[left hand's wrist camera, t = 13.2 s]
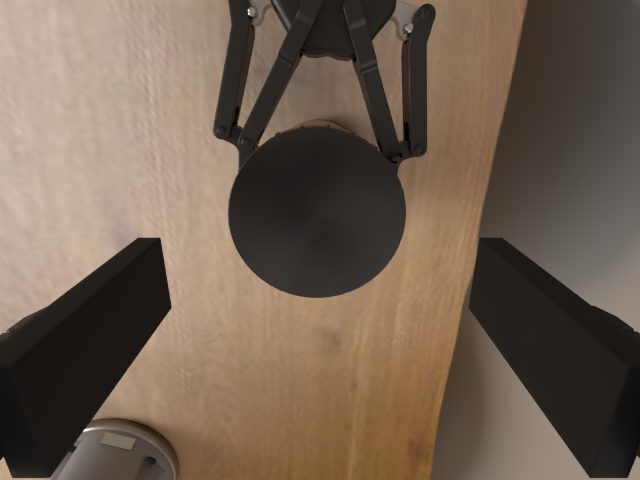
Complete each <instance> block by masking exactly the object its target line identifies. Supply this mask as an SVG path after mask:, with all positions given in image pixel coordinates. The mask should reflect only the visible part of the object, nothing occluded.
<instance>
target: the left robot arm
mask: <svg viewBox="0 0 640 480" xmlns="http://www.w3.org/2000/svg"><path fill="white" fill-rule="evenodd" d="M171 308H172V307H171V301H170V295H169V289H168V282H167V276H166V270H165V264H164V258H163V251H162V245H161V239H160V238H137V239H136V240H134V241H133V242H132V243H131V244H129V245H128V246H127V247H125V248H124V249H123V250H121V251H120V252H119V253H117V254H116V255H115V256H113V257H112V258H111V259H109V260H108V261H107V262H106V263H104V264H103V265H102V266H100V267H99V268H98V269H96V270H95V271H94V272H92V273H91V274H90V275H88V276H87V277H86V278H84V279H83V280H82V281H81V282H79V283H78V284H77V285H75V286H74V287H73V288H71V289H70V290H69V291H67V292H66V293H65V294H63V295H62V296H61V297H59V298H58V299H57V300H56V301H54V302H53V303H52V304H50V305H49V306H48V307H46V308H44V309H41V310H39V311H37V312H35V313H33V314H31V315H29V316H27V317H25V318H23V319H22V320H20V321H19V322H18V323H16V324H15V325H14V326H12V327H11V328H10V329H8V330H7V333H3V334H1V335H0V460H1V459H2V458H3V457H4V458H5V461H6V463H7V466H8V468H9V471H10V473H11V476H12V478H46V479H45V480H177V478H178V475H179V463H178V459H177V456H176V454H175V452H174V451H173V449H172V447H171V446H170V445H169V444H168V443H167V442H166V441H165V440H164V439H163V438H162V437H161V436H160V435H158V434H157V433H155V432H154V431H152V430H150V429H148V428H146V427H144V426H142V425H139V424H136V423H133V422H129V421H125V420H118V419H102V420H95V421H91V420H92V418H93V417H94V416H95V414H96V413H97V411H98V410H99V409H100V407H101V406H102V404H103V403H104V402H105V400H106V399H107V397H108V396H109V395H110V393H111V392H112V390H113V389H114V388H115V386H116V385H117V383H118V382H119V381H120V379H121V378H122V376H123V375H124V374H125V372H126V371H127V369H128V368H129V367H130V365H131V364H132V362H133V361H134V360H135V358H136V357H137V355H138V354H139V353H140V351H141V350H142V348H143V347H144V346H145V344H146V343H147V341H148V340H149V339H150V337H151V336H152V334H153V333H154V332H155V330H156V329H157V327H158V326H159V325H160V323H161V322H162V320H163V319H164V318H165V316H166V315H167V313H168V312H169V311H170V309H171ZM469 309H470V310H471V312H472V313H473V315H474V316H475V318H476V319H477V320H478V322H479V323H480V325H481V326H482V327H483V329H484V330H485V332H486V333H487V334H488V336H489V337H490V339H491V340H492V341H493V343H494V344H495V346H496V347H497V348H498V350H499V351H500V352H501V354H502V355H503V357H504V358H505V360H506V361H507V362H508V364H509V365H510V367H511V368H512V369H513V371H514V372H515V374H516V375H517V376H518V378H519V379H520V380H521V382H522V383H523V385H524V386H525V388H526V389H527V390H528V392H529V393H530V394H531V396H532V397H533V399H534V400H535V402H536V403H537V404H538V406H539V407H540V409H541V410H542V411H543V413H544V414H545V416H546V417H547V418H548V420H549V421H550V423H551V424H552V425H553V427H554V428H555V430H556V431H557V432H558V434H559V435H560V437H561V438H562V439H563V441H564V442H565V444H566V445H567V446H568V448H569V449H570V451H571V452H572V453H573V455H574V456H575V458H576V459H577V460H578V462H579V463H580V465H581V466H582V467H583V469H584V470H585V472H586V473H587V474H588V476H589V477H590V478H628V476H629V473H630V471H631V468H632V466H633V463H634V461H635V458H636V456H638V457H639V458H640V333H638V332H634V329H633V328H632V327H630V326H629V325H627V324H626V323H625V322H623V321H622V320H621V319H619V318H618V317H617V316H614V315H612V314H610V313H608V312H606V311H604V310H602V309H600V308H598V307H595V306H591V305H590V304H588V303H587V302H586V301H584V300H583V299H582V298H581V297H579V296H578V295H577V294H575V293H574V292H573V291H571V290H570V289H569V288H567V287H566V286H565V285H563V284H562V283H561V282H559V281H558V280H557V279H556V278H554V277H553V276H552V275H550V274H549V273H548V272H546V271H545V270H544V269H542V268H541V267H540V266H538V265H537V264H536V263H534V262H533V261H532V260H530V259H529V258H528V257H527V256H525V255H524V254H523V253H521V252H520V251H519V250H517V249H516V248H515V247H513V246H512V245H511V244H509V243H508V242H507V241H506V240H504V239H503V238H480V239H479V245H478V251H477V258H476V264H475V270H474V276H473V282H472V289H471V295H470V301H469ZM90 421H91V422H90Z"/></svg>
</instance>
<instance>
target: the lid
mask: <svg viewBox="0 0 640 480" xmlns="http://www.w3.org/2000/svg"><path fill="white" fill-rule="evenodd" d="M377 149H378V148H377V147H376V146H375V145H374V144H372V145H371V144H370V143H369V142H367V141H366V140H365V139H363V138H361V137H360V136H358V135H357V134H356V133H355V132H354V131H352V130H351V132H350V131H348V130H345V129H342V128H339V127H335V126H330V125H329V124H327V125H305V126H304V124H301V126H299V127H295V128H291V129H289V130H286V131H284V132H281V133H280V132H278V133H276V134H275V136H274V137H272V138H270V139H269V140H268V141H267V142H265V143H264V144H263V145H261V146H260V147H259V146H258V147H257V148H255V149H254V150H253V151H254V152H253V153H252V154H251V155H250V156H249V157H248V159H247V160H246V161H245V163H244V164H243V165H242V167H241V168H240V169H239V170H238V174H237V176H236V178H235V180H234V183H233V185H232V188H231V192H230V196H229V202H228V223H229V228H230V233H231V236H232V239H233V242H234V245H235V247H236V249H237V251H238V253H239V254H240V256H241V257H242V259H243V260H244V262H245V263H246V264H247V266H248V267H249V268H250V269H251V270H252V271H253V272H254V273H255V274H256V275H257V276H258V277H259V278H261V279H262V280H263V281H265V282H266V283H268V284H269V285H271V286H273V287H275V288H277V289H279V290H281V291H284V292H286V293H289V294H293V295H297V296H302V297H310V298H323V297H332V296H337V295H342V294H345V293H347V292H350V291H353V290H355V289H357V288H359V287H361V286H363V285H364V284H366V283H368V282H369V281H371V280H372V279H373V278H374V277H376V276H377V275H378V274H379V273H380V272H381V271H382V270H383V269H384V268H385V267H386V266H387V264H388V263H389V262H390V260H391V259H392V258H393V256H394V254H395V252H396V250H397V249H398V246H399V244H400V241H401V239H402V236H403V232H404V228H405V219H406V204H405V198H404V193H403V192H404V191H403V189H402V186H401V183H400V181H399V179H398V176H397V174H396V172H395V171H394V167H393V166H392V165H391V164H390V163H389V162H388V160H387V159H386V158H385V157H384V156H383V155H382V154H381V153H380V152H379V151H378V150H377Z"/></svg>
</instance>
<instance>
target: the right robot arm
mask: <svg viewBox="0 0 640 480" xmlns="http://www.w3.org/2000/svg"><path fill="white" fill-rule="evenodd" d="M228 1H229V8H230V15H231V23H232V26H231V31H230V37H229V43H228V48H227V54H226V59H225V65H224V70H223V76H222V81H221V87H220V93H219V98H218V104H217V109H216V115H215V120H214V126H213V133H214V135H215V136H216V137H217V138H218V139H223V140H225V141H228V142H230V143H232V144H234V145H235V146H236V147H237V149H238V152H239V169H240V168H241V167H242V165H243V164H244V163H245V161H246V160H247V159H248V157H249V156H250V155H251V154H252V153H253V152H254V151H253V150H254V149H255V148H257V147H258V144H259V141H260V139H261V137H262V135H263V133H264V131H265V129H266V127H267V125H268V123H269V121H270V119H271V117H272V115H273V113H274V111H275V109H276V107H277V105H278V103H279V101H280V99H281V97H282V95H283V93H284V91H285V89H286V87H287V85H288V83H289V81H290V79H291V77H292V75H293V73H294V71H295V69H296V67H297V66H298V64H299V62H300V60H301V58H302V56H303V54H304V55H306V57H311V58H319V57H325V56H329V57H332V58H334V59H337V60H342V61H349V60H351V59H352V62H353V65H354V68H355V71H356V74H357V76H358V79H359V83H360V86H361V89H362V93H363V96H364V100H365V103H366V106H367V110H368V113H369V116H370V120H371V123H372V127H373V130H374V133H375V137H376V140H377V143H378V147H379V150H380V153H381V154H382V155H383V156H384V157H385V158H386V159H387V160H388V162H389V163H390V164H391V165H392V166H393V167H394V171H395V172H396V174H397V171H398V166H399V164H400V163H401V162H402V161H403V160H405V159H408V158H412V157H420V156H423V155H424V154H425V152H426V150H427V41H428V38H429V35H430V31H431V28H432V25H433V22H434V19H435V14H436V12H435V8H434V7H433V6H432V5H431V4H424V5H422V6H421V7H417V6H413V5H410V4H407V3H403V2H400V1H397V0H228ZM272 7H273V8H274V10H275V12H276V13H277V15H278V17H279V19H280V21H281V22H282V24H283V26H284V28H285V30H286V31H287V33H288V34H287V36H286V38H285V40H284V42H283V44H282V46H281V48H280V51H279V53H278V57H277V59H276V61H275V63H274V65H273V67H272V70H271V72H270V74H269V76H268V78H267V80H266V82H265V84H264V86H263V88H262V90H261V92H260V95H259V97H258V99H257V101H256V103H255V105H254V107H253V109H252V111H251V113H250V115H249V117H248V120H247V122H246V124H245V126H244V128H242V127H240V126H238V120H239V115H240V110H241V105H242V100H243V95H244V90H245V85H246V80H247V75H248V70H249V65H250V60H251V55H252V50H253V45H254V39H255V27H257V26H260V25H261V24H262V23H263V21H264V14H265V12H266V11H267V9H269V8H272ZM389 19H390V20H392V21H393V22H394V23H395V25H396V35H397V38H398V39H399V40H401V41H403V44H402V55H401V61H402V100H403V139H404V140H403V141H399V142H398V139H397V135H396V132H395V128H394V125H393V121H392V117H391V114H390V110H389V107H388V103H387V99H386V96H385V92H384V89H383V85H382V81H381V78H380V74H379V70H378V66H377V59H376V55H375V51H374V48H373V44H372V40H373V39H374V38H375V36H376V35H377V34H378V33H379V31H380V30H381V29H382V28H383V26H384V25H385V24H386V23H387V22H388V20H389Z"/></svg>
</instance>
